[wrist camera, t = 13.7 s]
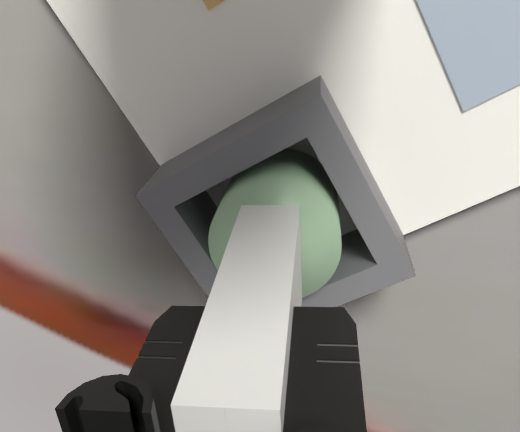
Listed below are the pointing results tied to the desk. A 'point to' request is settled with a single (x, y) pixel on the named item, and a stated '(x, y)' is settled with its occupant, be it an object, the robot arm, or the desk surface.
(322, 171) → the button
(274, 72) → the white button panel
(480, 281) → the desk surface
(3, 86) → the desk surface
